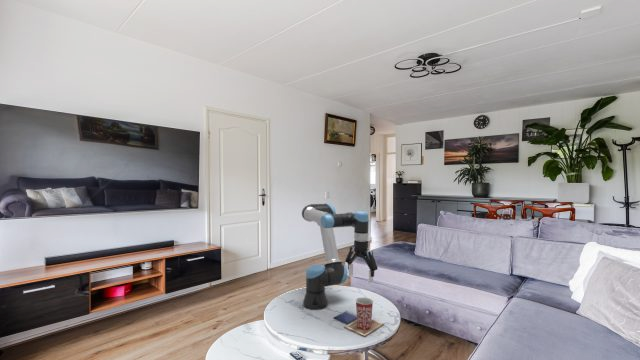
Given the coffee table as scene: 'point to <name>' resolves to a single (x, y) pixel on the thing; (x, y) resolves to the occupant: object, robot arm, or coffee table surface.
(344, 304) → the coffee table surface
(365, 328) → the mug
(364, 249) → the robot arm
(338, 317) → the ink pad
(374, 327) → the board
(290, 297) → the coffee table surface
